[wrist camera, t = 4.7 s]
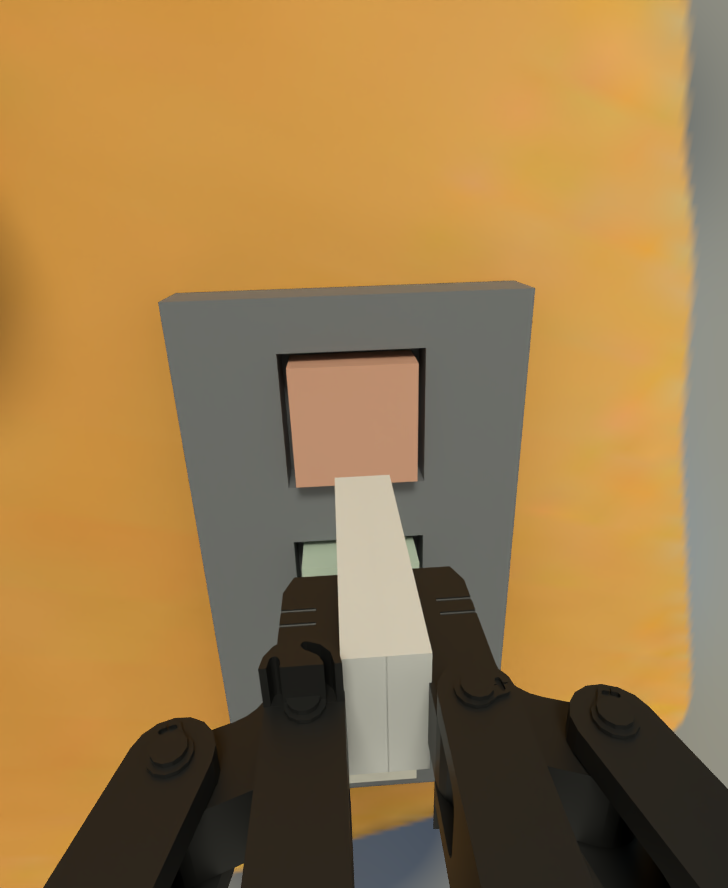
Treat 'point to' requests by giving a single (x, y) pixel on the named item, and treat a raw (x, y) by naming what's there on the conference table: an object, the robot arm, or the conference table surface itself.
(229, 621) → the button board
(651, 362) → the conference table surface
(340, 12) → the conference table surface
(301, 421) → the terracotta button
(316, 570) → the sage button
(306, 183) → the conference table surface
